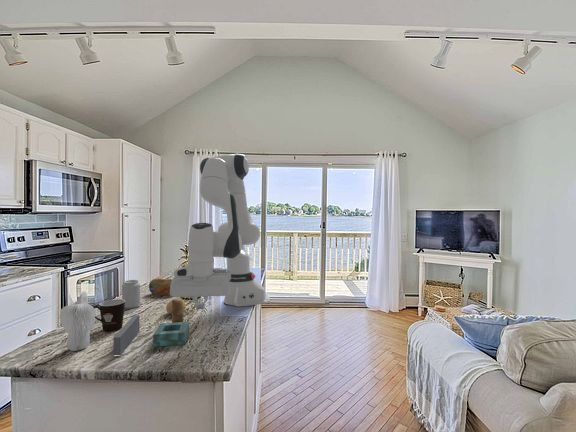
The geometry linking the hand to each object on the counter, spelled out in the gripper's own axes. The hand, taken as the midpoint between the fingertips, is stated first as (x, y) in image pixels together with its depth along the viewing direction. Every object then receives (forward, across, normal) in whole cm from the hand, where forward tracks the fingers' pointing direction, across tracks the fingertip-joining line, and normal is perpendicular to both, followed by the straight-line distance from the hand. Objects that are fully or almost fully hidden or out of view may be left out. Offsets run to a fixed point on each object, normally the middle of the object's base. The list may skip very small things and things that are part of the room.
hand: (200, 308), depth 109 cm
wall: (+11, +24, 0) cm, 26 cm away
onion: (+10, +13, -28) cm, 33 cm away
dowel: (+10, +10, -13) cm, 20 cm away
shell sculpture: (+11, +38, +2) cm, 39 cm away
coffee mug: (+11, +35, -15) cm, 39 cm away
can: (+11, +35, -41) cm, 55 cm away
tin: (+10, +25, -60) cm, 66 cm away
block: (+10, +9, 0) cm, 14 cm away
